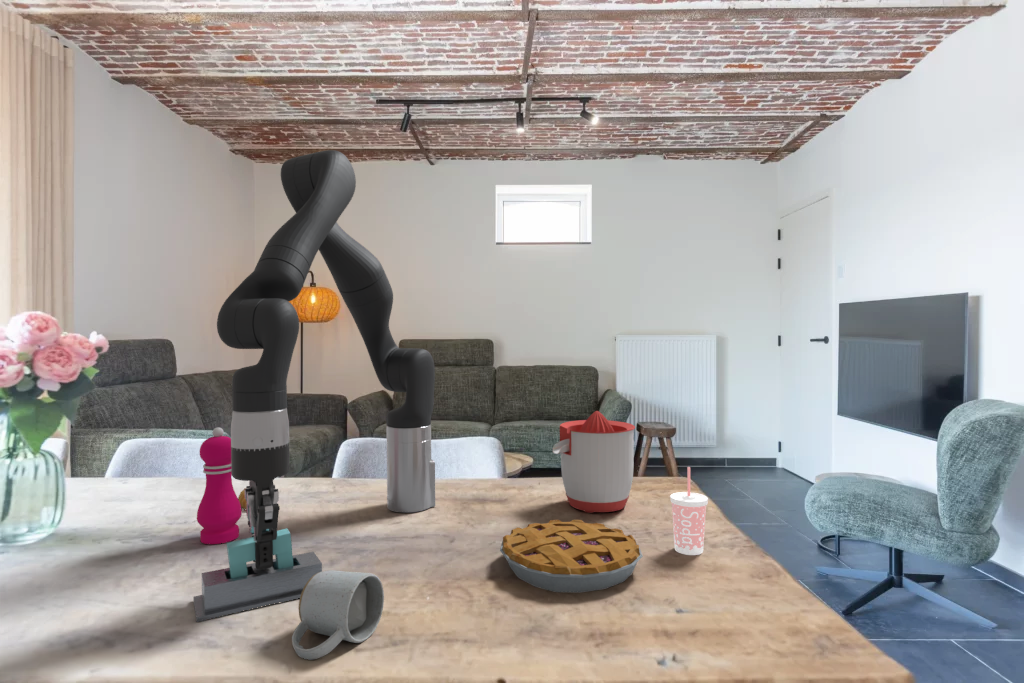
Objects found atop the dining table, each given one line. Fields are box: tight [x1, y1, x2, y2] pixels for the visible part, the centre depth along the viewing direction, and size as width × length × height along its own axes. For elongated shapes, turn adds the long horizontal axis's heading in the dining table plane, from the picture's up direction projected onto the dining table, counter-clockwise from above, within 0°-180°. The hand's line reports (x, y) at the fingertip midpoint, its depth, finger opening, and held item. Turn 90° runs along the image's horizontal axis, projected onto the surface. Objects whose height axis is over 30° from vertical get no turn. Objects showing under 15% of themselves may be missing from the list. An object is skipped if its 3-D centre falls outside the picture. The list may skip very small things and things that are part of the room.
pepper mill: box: [196, 426, 243, 545], centre depth 107 cm, size 7×7×20 cm
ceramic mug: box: [291, 570, 385, 661], centre depth 73 cm, size 11×8×8 cm
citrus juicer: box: [552, 410, 636, 514], centre depth 126 cm, size 16×17×20 cm
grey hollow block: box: [192, 551, 323, 623], centre depth 84 cm, size 17×7×4 cm, turn 121°
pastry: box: [237, 487, 247, 511], centre depth 127 cm, size 9×7×4 cm
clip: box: [226, 528, 294, 579], centre depth 84 cm, size 8×2×6 cm, turn 121°
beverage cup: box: [669, 466, 709, 556], centre depth 101 cm, size 6×6×14 cm
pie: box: [499, 519, 643, 594], centre depth 94 cm, size 22×22×5 cm
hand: (262, 563), depth 84 cm, fingers closed on clip, 2 cm apart
